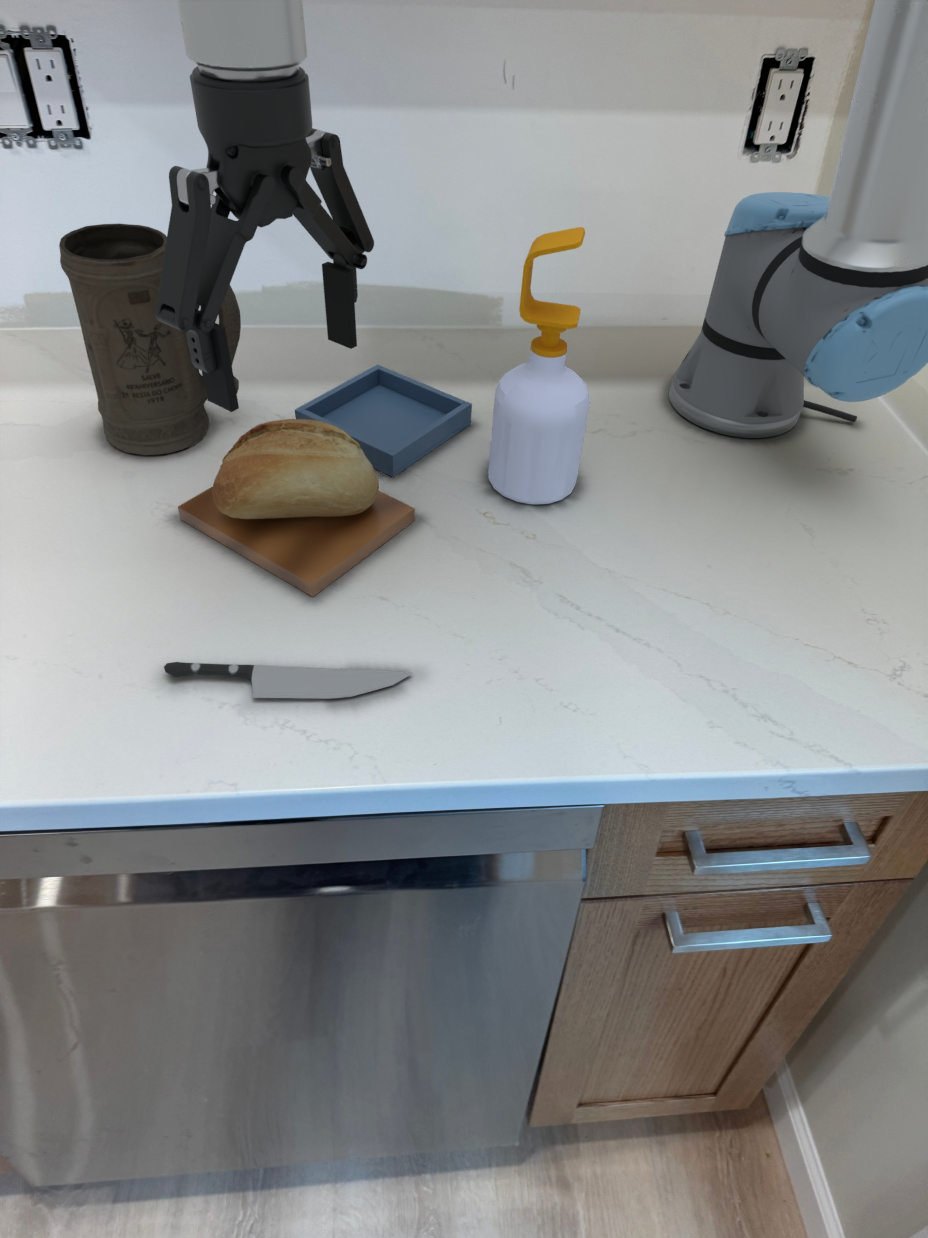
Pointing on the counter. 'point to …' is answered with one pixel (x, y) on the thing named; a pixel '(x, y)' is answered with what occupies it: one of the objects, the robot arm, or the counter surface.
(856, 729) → the counter surface
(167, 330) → the beer stein
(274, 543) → the bread board
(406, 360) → the counter surface
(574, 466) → the soap bottle
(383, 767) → the counter surface
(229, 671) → the chef's knife
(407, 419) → the soap tray
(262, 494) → the bread roll
